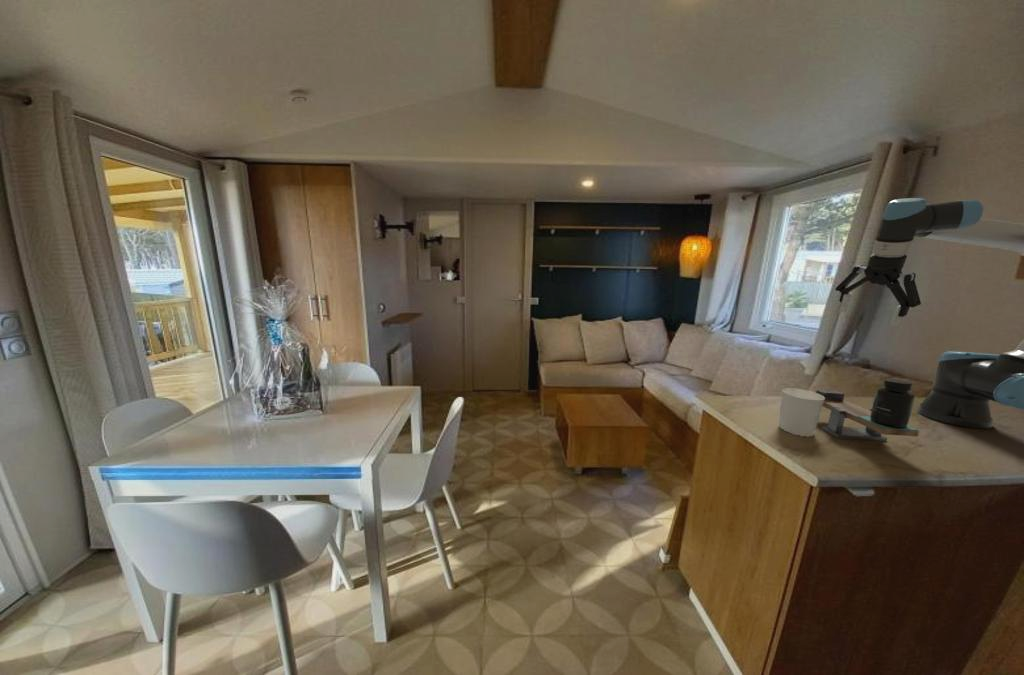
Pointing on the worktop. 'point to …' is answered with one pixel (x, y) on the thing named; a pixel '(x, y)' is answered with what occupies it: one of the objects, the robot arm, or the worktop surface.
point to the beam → (861, 414)
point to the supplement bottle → (893, 404)
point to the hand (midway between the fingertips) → (867, 317)
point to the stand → (849, 428)
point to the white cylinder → (800, 411)
